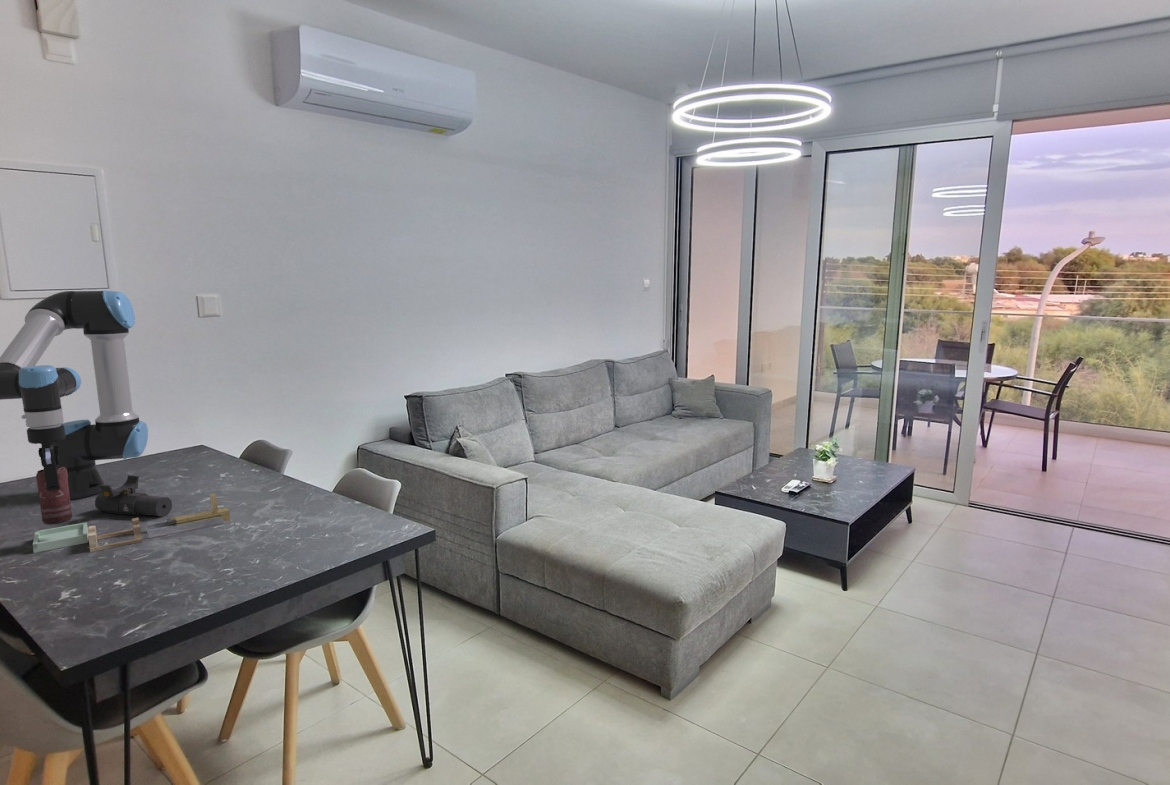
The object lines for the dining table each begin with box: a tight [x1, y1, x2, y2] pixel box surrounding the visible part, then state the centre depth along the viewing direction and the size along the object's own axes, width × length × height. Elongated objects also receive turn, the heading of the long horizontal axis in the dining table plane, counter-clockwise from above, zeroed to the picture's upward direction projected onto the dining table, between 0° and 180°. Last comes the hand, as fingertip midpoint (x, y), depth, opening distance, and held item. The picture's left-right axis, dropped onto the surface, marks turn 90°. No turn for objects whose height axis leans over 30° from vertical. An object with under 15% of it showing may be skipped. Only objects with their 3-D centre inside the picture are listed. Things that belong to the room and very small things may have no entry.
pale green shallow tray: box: [32, 521, 89, 554], centre depth 173 cm, size 11×11×2 cm
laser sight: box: [94, 474, 173, 517], centre depth 192 cm, size 10×22×10 cm, turn 78°
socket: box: [88, 517, 143, 553], centre depth 172 cm, size 10×11×4 cm
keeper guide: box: [145, 516, 225, 539], centre depth 182 cm, size 6×18×2 cm, turn 127°
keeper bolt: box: [166, 492, 231, 526], centre depth 184 cm, size 3×15×8 cm, turn 127°
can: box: [35, 467, 73, 526], centre depth 170 cm, size 6×6×14 cm
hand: (57, 513), depth 171 cm, fingers closed
